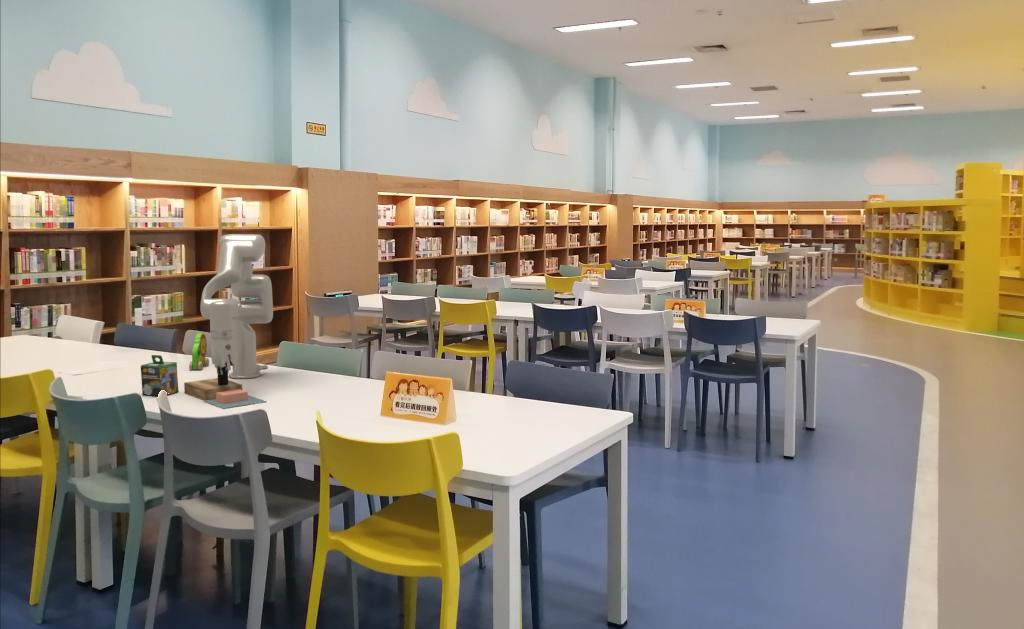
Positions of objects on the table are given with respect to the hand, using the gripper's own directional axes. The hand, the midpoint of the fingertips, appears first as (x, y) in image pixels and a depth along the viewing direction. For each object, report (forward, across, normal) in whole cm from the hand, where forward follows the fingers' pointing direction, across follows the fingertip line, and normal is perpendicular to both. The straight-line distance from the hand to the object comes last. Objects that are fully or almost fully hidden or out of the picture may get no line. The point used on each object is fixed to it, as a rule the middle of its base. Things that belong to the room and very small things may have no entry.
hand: (223, 384), depth 290 cm
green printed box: (+5, +22, +14) cm, 27 cm away
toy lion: (+5, +66, -20) cm, 69 cm away
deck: (+5, +8, 0) cm, 10 cm away
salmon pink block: (+2, -8, 0) cm, 8 cm away
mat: (+5, -9, 0) cm, 10 cm away
